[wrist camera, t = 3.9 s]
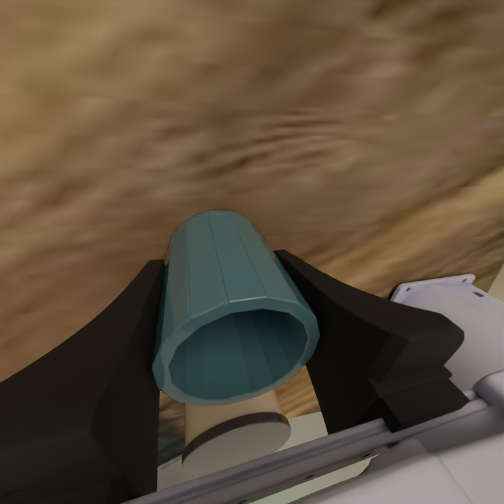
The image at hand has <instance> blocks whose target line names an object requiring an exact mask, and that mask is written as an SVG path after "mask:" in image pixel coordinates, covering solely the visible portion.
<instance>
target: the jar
mask: <svg viewBox="0 0 504 504" xmlns="http://www.w3.org/2000/svg"><path fill="white" fill-rule="evenodd" d="M290 435H291V428H290V425H289V422H288V419H287V418H286V417H285V416H284V414H283V411H282V408H281V405H280V402H279V399H278V396H277V393H276V390H275V389H273V390H271V391H268V392H266V393H264V394H262V395H260V396H258V397H255V398H253V399H249V400H245V401H241V402H237V403H233V404H229V405H221V406H195V405H190V404H186V403H185V449H184V451H183V454H182V469H183V471H184V472H185V473H186V474H188V475H191V476H196V477H203V476H206V475H209V474H212V473H215V472H218V471H221V470H224V469H227V468H230V467H233V466H236V465H239V464H242V463H245V462H248V461H251V460H254V459H257V458H260V457H263V456H266V455H270V454H272V453H274V452H275V451H277V450H278V449H279V448H280V447H281V446H282V445H284V444H285V442H286V441H287V440H288V439H289V437H290Z"/></svg>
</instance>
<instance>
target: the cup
mask: <svg viewBox="0 0 504 504" xmlns="http://www.w3.org/2000/svg"><path fill="white" fill-rule="evenodd" d="M319 338H320V332H319V328H318V324H317V319H316V316H315V315H314V313H313V312H312V310H311V309H310V307H309V306H308V304H307V302H306V301H305V299H304V298H303V296H302V295H301V293H300V292H299V290H298V289H297V287H296V286H295V284H294V283H293V281H292V279H291V278H290V276H289V275H288V273H287V272H286V270H285V269H284V267H283V266H282V264H281V263H280V261H279V260H278V258H277V257H276V255H275V253H274V252H273V250H272V249H271V247H270V246H269V244H268V243H267V241H266V240H265V238H264V237H263V235H262V234H261V232H260V231H259V230H258V229H257V227H256V226H255V225H254V224H253V223H252V222H251V221H250V220H249V219H247V218H246V217H244V216H242V215H240V214H238V213H234V212H231V211H225V210H214V211H207V212H203V213H200V214H197V215H195V216H193V217H191V218H189V219H188V220H186V221H185V222H184V223H183V224H181V225H180V226H179V227H178V229H177V230H176V231H175V233H174V234H173V236H172V238H171V240H170V242H169V246H168V252H167V255H166V261H165V270H164V278H163V284H162V292H161V299H160V307H159V315H158V322H157V330H156V338H155V345H154V353H153V361H152V371H153V374H154V378H155V381H156V385H157V388H158V389H159V390H161V391H162V392H163V393H165V394H166V395H167V396H169V397H170V398H172V399H173V400H174V401H177V402H181V403H186V404H190V405H195V406H221V405H229V404H233V403H237V402H241V401H245V400H249V399H253V398H255V397H258V396H260V395H262V394H264V393H266V392H268V391H271V390H273V389H275V388H277V387H279V386H280V385H282V384H283V383H284V382H286V381H287V380H289V379H290V378H291V377H293V376H294V375H296V374H297V373H298V372H299V371H300V370H301V369H302V368H303V367H304V365H305V364H306V363H307V362H308V361H309V359H310V358H311V357H312V356H313V354H314V352H315V349H316V346H317V343H318V340H319Z"/></svg>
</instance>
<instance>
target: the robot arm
mask: <svg viewBox="0 0 504 504" xmlns="http://www.w3.org/2000/svg"><path fill="white" fill-rule="evenodd" d="M273 252H274V253H275V255H276V257H277V258H278V260H279V261H280V263H281V264H282V266H283V267H284V269H285V270H286V272H287V273H288V275H289V276H290V278H291V279H292V281H293V283H294V284H295V286H296V287H297V289H298V290H299V292H300V293H301V295H302V296H303V298H304V299H305V301H306V302H307V304H308V306H309V307H310V309H311V310H312V312H313V313H314V315H315V316H316V319H317V324H318V328H319V332H320V338H319V340H318V343H317V346H316V349H315V352H314V354H313V356H312V357H311V358H310V359H309V361H308V362H307V363H306V367H307V370H308V373H309V375H310V378H311V381H312V384H313V387H314V390H315V393H316V396H317V399H318V402H319V405H320V409H321V412H322V415H323V418H324V422H325V425H326V428H327V432H328V435H327V436H324V437H321V438H318V439H315V440H312V441H309V442H306V443H303V444H300V445H297V446H294V447H291V448H288V449H285V450H282V451H279V452H276V453H273V454H270V455H266V456H263V457H260V458H257V459H254V460H251V461H248V462H245V463H242V464H239V465H236V466H233V467H230V468H227V469H224V470H221V471H218V472H215V473H212V474H209V475H206V476H203V477H200V478H196V479H194V480H190V481H187V482H184V483H181V484H178V485H175V486H172V487H169V488H166V489H163V490H160V491H157V464H158V425H159V398H160V390H159V389H158V388H157V385H156V381H155V378H154V374H153V371H152V361H153V353H154V345H155V338H156V330H157V322H158V315H159V307H160V299H161V292H162V284H163V278H164V270H165V263H164V259H162V260H150V261H149V262H148V263H147V264H146V265H145V266H144V267H143V269H142V270H141V271H140V272H139V274H138V275H137V276H136V277H135V278H134V279H133V281H132V282H131V283H130V284H129V285H128V286H127V287H126V288H125V290H124V291H123V292H122V293H121V294H120V295H119V296H118V297H117V298H116V299H115V300H114V301H113V302H112V303H111V304H110V305H109V306H108V307H107V308H106V309H105V310H103V311H102V312H101V313H100V314H99V315H98V316H96V317H95V318H94V319H93V320H92V321H91V322H89V323H88V324H87V325H86V326H84V327H83V328H82V329H80V330H79V331H78V332H76V333H75V334H74V335H72V336H71V337H70V338H68V339H67V340H65V341H64V342H63V343H61V344H60V345H59V346H57V347H56V348H54V349H53V350H51V351H50V352H48V353H47V354H45V355H44V356H42V357H41V358H39V359H38V360H36V361H35V362H33V363H32V364H30V365H29V366H27V367H25V368H24V369H22V370H21V371H19V372H17V373H16V374H14V375H13V376H11V377H9V378H8V379H6V380H4V381H2V382H1V383H0V504H249V503H251V502H254V501H256V500H259V499H262V498H264V497H267V496H270V495H272V494H275V493H278V492H280V491H283V490H285V489H288V488H291V487H293V486H296V485H298V484H301V483H304V482H307V481H309V480H312V479H314V478H317V477H320V476H322V475H325V474H328V473H330V472H333V471H336V470H338V469H341V468H343V467H346V466H349V465H351V464H354V463H357V462H359V461H362V460H365V459H367V458H370V457H372V456H375V455H378V454H379V455H378V456H376V457H374V458H372V459H371V461H370V463H369V465H368V466H367V468H366V469H365V470H364V471H363V472H362V473H361V474H359V475H358V476H356V477H353V478H351V479H348V480H345V481H342V482H339V483H337V484H335V485H332V486H329V487H327V488H325V489H322V490H319V491H317V492H314V493H312V494H309V495H307V496H305V497H302V498H300V499H298V500H295V501H293V502H290V503H288V504H504V303H503V302H501V301H499V300H498V299H496V298H494V297H492V296H491V295H489V294H487V293H486V292H484V291H482V290H480V289H479V288H477V287H475V286H474V285H472V284H471V283H472V282H473V281H474V279H475V275H473V274H465V275H458V276H451V277H444V278H438V279H431V280H424V281H417V282H410V283H403V284H400V285H399V286H397V288H396V289H395V291H394V293H393V295H392V297H391V299H390V300H387V299H384V298H381V297H378V296H375V295H372V294H369V293H367V292H364V291H361V290H359V289H356V288H354V287H352V286H349V285H347V284H345V283H343V282H340V281H338V280H336V279H334V278H332V277H331V276H329V275H327V274H325V273H323V272H321V271H319V270H318V269H316V268H314V267H313V266H311V265H309V264H308V263H306V262H304V261H303V260H301V259H299V258H298V257H296V256H295V255H293V254H291V253H289V252H288V251H286V250H275V251H273Z"/></svg>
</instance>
